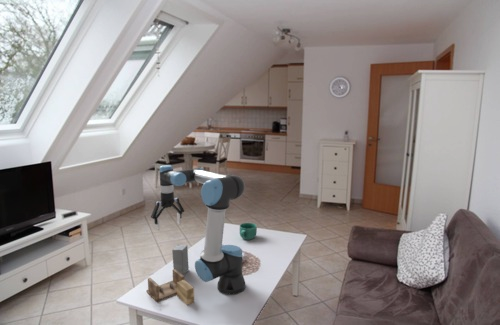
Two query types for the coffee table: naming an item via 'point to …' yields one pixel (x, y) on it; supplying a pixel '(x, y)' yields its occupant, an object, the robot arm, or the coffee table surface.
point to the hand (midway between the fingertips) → (168, 226)
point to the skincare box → (180, 259)
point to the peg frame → (164, 287)
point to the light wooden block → (185, 292)
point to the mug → (248, 230)
